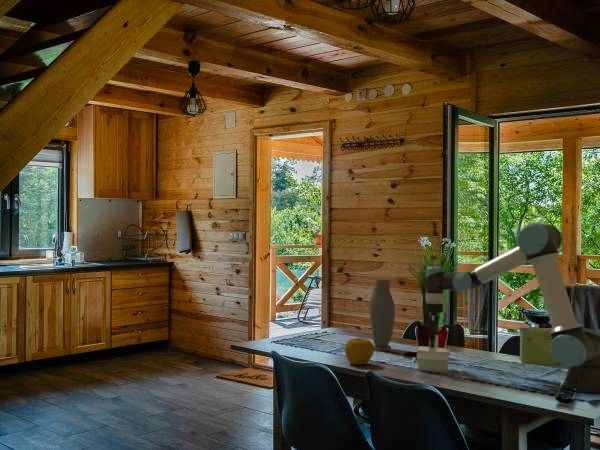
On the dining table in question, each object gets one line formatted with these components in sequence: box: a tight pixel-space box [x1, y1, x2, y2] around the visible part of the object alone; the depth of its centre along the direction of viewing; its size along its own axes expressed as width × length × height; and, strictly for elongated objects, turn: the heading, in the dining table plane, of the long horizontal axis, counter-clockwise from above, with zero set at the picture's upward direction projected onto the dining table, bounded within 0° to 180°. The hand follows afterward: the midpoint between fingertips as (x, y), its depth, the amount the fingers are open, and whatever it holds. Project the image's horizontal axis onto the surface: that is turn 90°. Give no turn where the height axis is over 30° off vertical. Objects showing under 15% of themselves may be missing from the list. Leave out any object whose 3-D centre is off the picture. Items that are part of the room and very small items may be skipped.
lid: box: [416, 345, 451, 362], centre depth 273 cm, size 13×10×4 cm
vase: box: [368, 279, 396, 352], centre depth 323 cm, size 13×13×35 cm
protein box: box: [519, 326, 558, 366], centre depth 297 cm, size 10×15×16 cm
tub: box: [417, 358, 449, 373], centre depth 273 cm, size 12×8×8 cm, turn 74°
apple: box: [344, 337, 375, 366], centre depth 281 cm, size 13×13×11 cm
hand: (433, 352), depth 273 cm, fingers open, 13 cm apart
